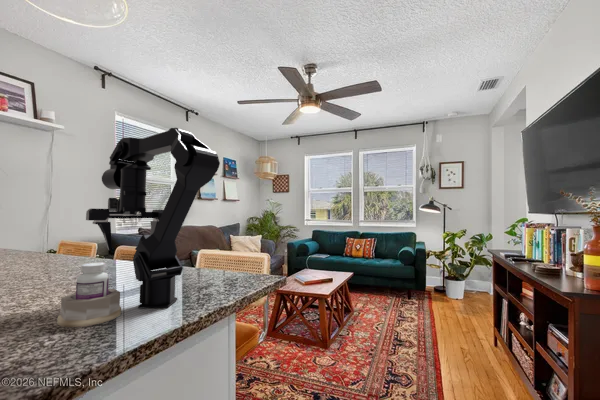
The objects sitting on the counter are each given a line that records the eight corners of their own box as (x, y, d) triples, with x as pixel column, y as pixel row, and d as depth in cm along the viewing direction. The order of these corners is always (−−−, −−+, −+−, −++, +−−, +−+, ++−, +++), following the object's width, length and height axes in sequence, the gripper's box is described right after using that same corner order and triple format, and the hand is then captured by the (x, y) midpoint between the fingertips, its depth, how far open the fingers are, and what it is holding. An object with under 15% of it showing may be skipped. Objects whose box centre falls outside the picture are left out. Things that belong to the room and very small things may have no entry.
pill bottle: (86, 308, 61) (88, 261, 61) (112, 307, 61) (114, 261, 62) (68, 317, 55) (70, 266, 56) (97, 316, 56) (99, 266, 56)
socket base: (130, 308, 64) (131, 287, 64) (102, 326, 53) (103, 302, 54) (81, 309, 63) (82, 288, 63) (42, 327, 53) (43, 302, 53)
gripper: (161, 191, 87) (159, 243, 86) (84, 187, 74) (81, 248, 73) (174, 189, 78) (172, 247, 78) (90, 184, 66) (87, 253, 65)
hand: (131, 248), depth 74 cm, fingers open, 9 cm apart
